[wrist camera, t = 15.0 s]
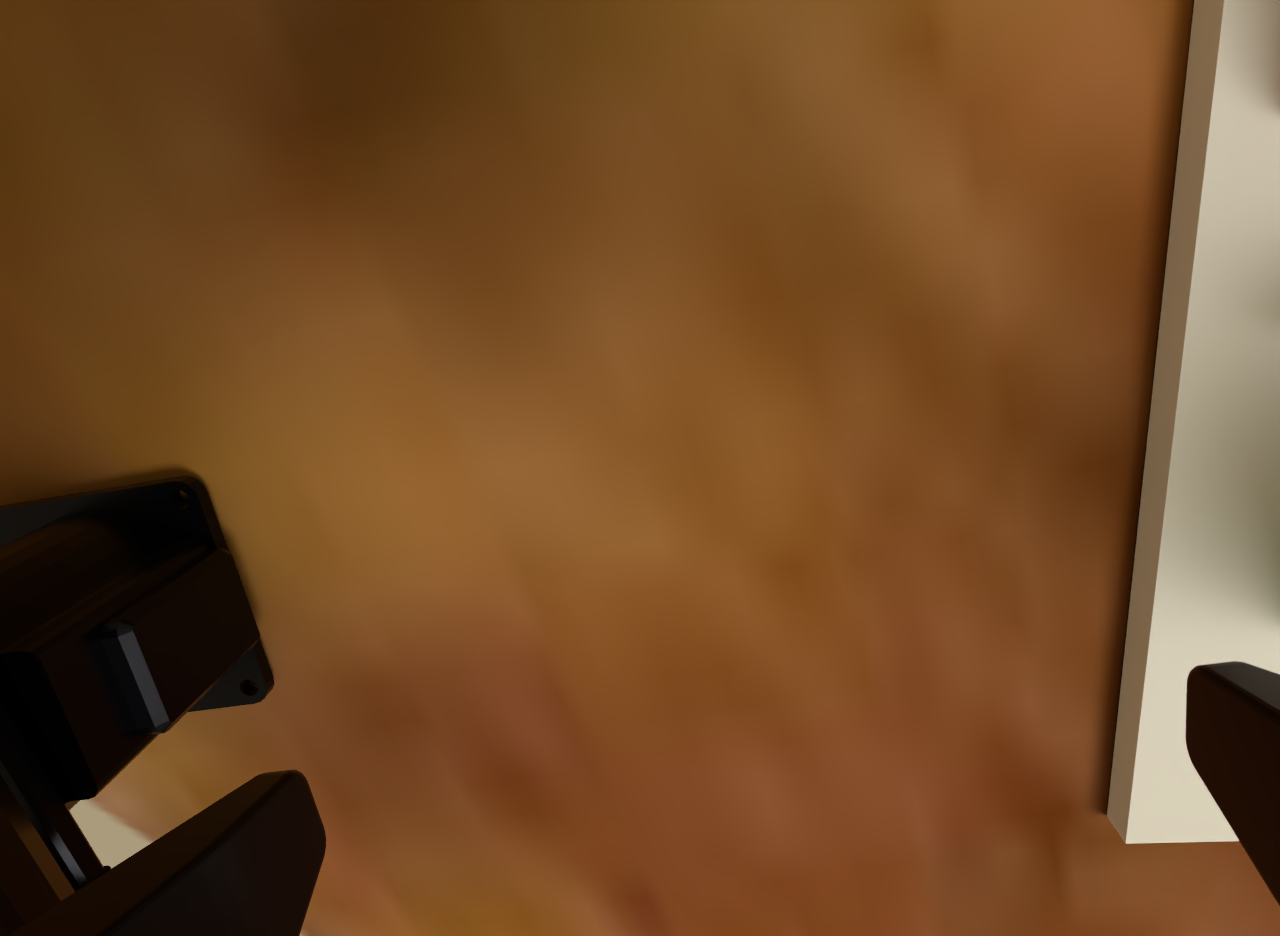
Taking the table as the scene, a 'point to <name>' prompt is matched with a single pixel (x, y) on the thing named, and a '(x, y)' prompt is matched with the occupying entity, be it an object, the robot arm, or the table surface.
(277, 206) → the table surface
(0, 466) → the table surface
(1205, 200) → the cream piece
